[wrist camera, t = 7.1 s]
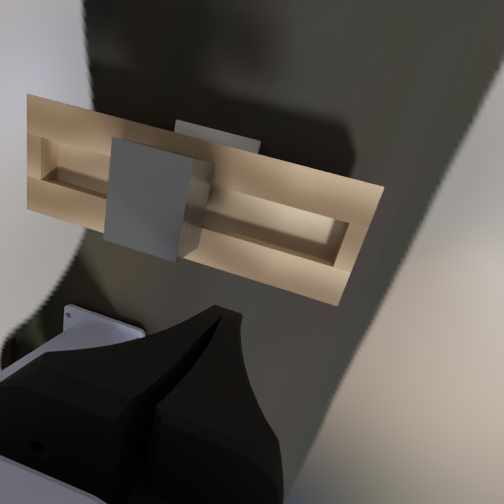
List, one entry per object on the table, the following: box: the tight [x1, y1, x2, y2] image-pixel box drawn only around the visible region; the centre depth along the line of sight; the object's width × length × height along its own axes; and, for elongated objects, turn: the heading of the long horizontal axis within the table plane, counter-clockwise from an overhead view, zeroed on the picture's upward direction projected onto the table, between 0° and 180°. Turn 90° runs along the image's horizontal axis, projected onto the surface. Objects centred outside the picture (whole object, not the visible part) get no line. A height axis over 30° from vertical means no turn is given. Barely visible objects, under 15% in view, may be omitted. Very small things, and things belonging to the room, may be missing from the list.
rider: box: [103, 137, 215, 262], centre depth 15 cm, size 5×4×4 cm
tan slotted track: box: [27, 94, 384, 306], centre depth 18 cm, size 9×21×4 cm, turn 75°
